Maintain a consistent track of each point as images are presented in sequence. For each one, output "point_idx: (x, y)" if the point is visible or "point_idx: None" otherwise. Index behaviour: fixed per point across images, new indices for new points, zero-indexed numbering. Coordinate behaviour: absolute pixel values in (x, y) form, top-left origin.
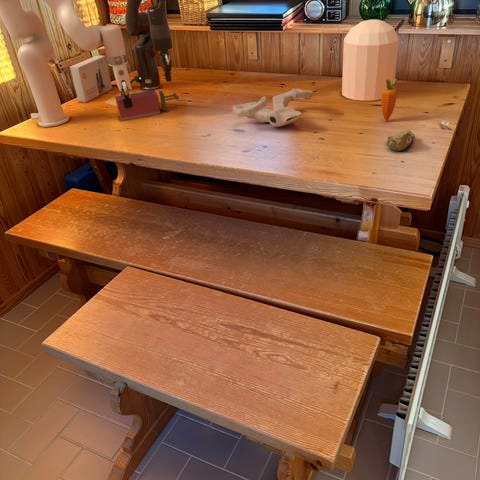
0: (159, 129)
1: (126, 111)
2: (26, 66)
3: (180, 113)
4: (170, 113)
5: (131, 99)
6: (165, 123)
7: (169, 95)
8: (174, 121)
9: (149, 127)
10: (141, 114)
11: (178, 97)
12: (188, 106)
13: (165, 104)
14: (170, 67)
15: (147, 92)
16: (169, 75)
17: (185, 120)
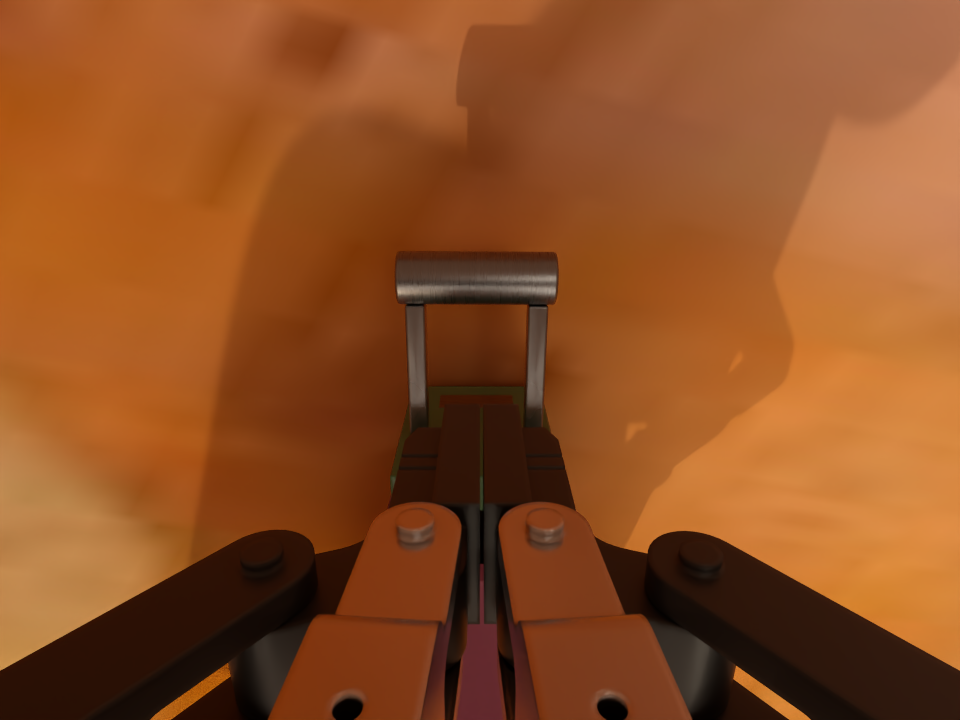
0: (948, 518)
1: None
2: None
3: (682, 264)
4: (612, 357)
5: None
6: (850, 451)
7: (414, 354)
8: (864, 370)
9: (837, 575)
10: None
11: (556, 259)
12: (505, 119)
13: (545, 413)
14: (889, 660)
15: None
16: (568, 497)
17: (925, 267)
